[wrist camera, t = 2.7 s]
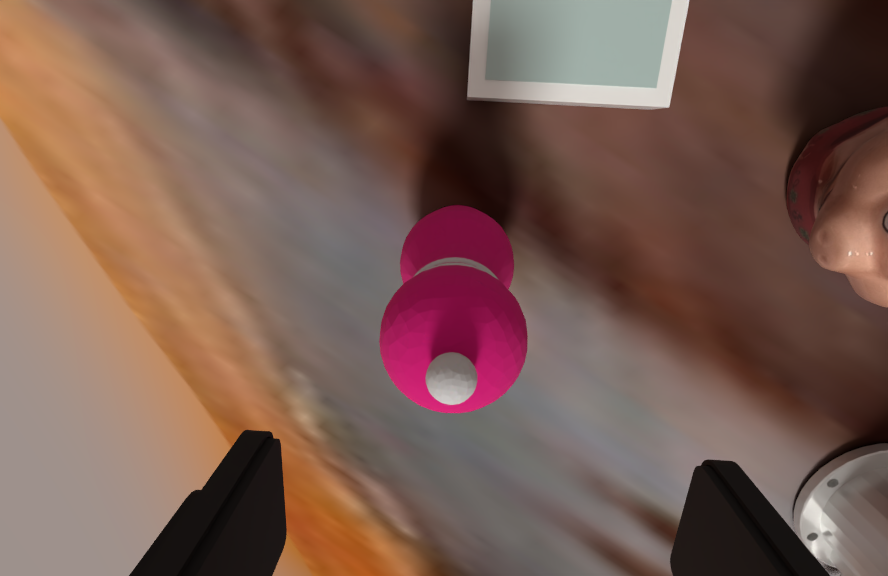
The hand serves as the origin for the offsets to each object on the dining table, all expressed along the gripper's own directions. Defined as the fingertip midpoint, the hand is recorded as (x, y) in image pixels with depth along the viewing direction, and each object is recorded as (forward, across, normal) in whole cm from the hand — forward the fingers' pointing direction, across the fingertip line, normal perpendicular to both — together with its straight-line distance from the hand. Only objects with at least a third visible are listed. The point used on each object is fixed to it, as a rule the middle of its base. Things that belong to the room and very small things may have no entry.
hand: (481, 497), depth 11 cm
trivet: (+25, -5, -16) cm, 30 cm away
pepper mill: (+25, +1, 0) cm, 25 cm away
